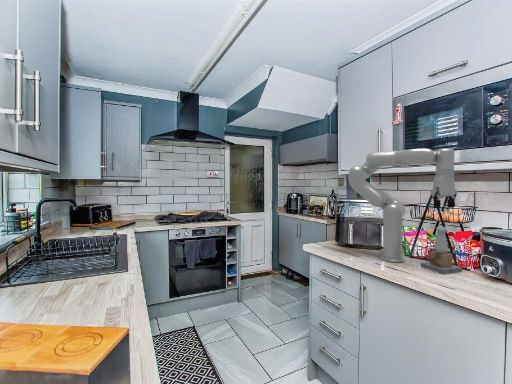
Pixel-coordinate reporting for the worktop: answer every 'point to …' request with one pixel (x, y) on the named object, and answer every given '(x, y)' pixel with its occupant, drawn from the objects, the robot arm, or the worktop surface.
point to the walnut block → (441, 259)
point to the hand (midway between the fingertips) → (443, 207)
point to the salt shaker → (441, 241)
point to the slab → (441, 270)
